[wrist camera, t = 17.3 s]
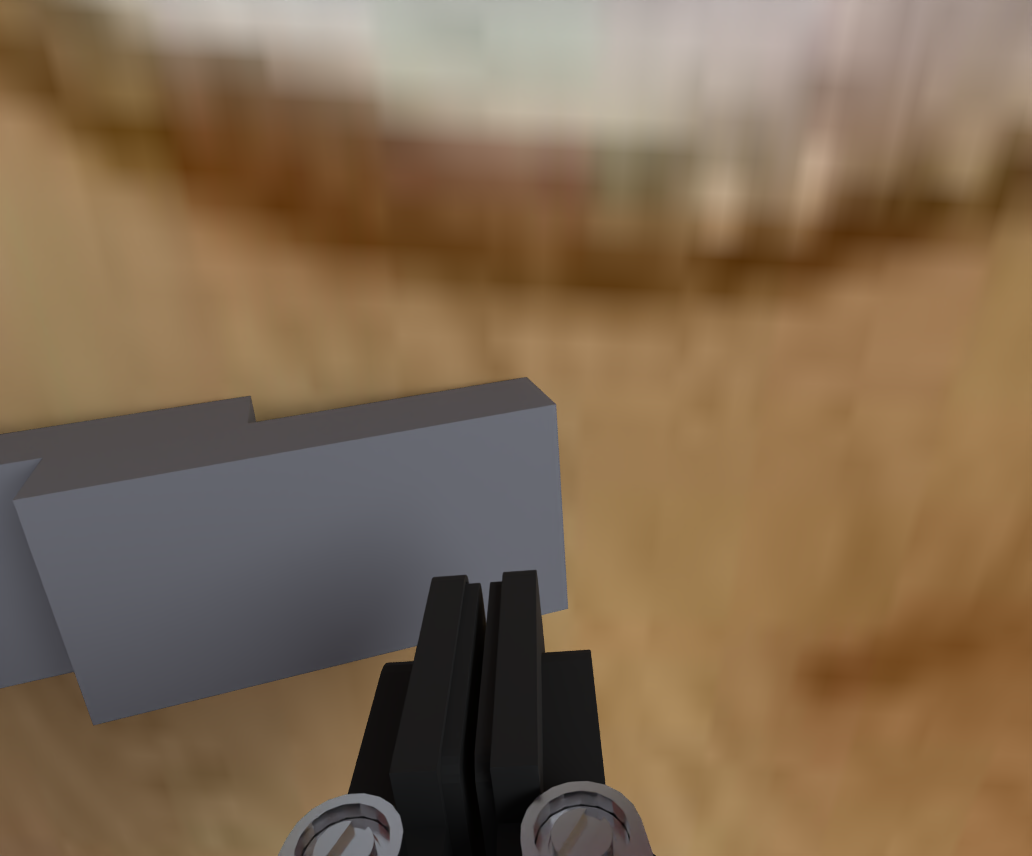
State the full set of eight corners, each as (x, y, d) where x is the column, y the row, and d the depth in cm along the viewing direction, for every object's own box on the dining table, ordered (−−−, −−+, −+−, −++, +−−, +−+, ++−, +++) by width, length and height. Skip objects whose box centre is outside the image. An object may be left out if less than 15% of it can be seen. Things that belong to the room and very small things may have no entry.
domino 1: (247, 424, 16) (-335, 519, 14) (291, 622, 18) (-216, 736, 16) (250, 395, 18) (-264, 475, 15) (289, 578, 20) (-164, 674, 17)
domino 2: (556, 404, 16) (12, 500, 13) (567, 608, 18) (92, 725, 15) (526, 377, 17) (43, 457, 15) (540, 565, 19) (112, 663, 17)
